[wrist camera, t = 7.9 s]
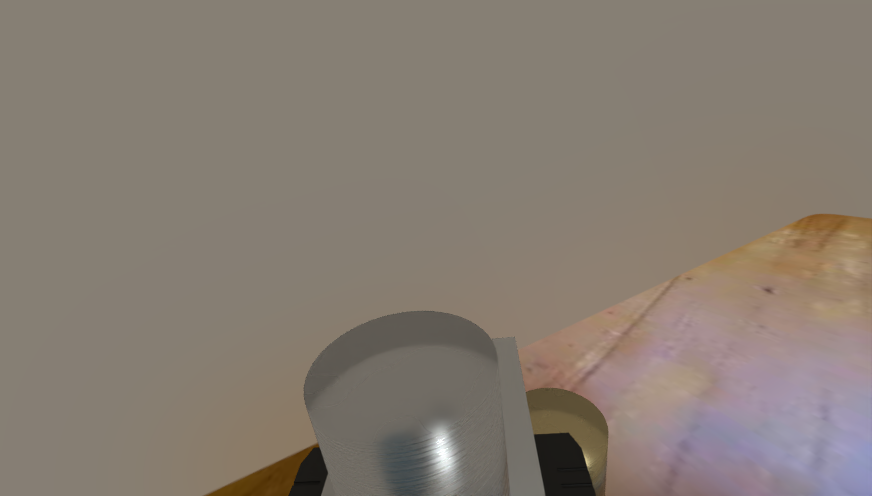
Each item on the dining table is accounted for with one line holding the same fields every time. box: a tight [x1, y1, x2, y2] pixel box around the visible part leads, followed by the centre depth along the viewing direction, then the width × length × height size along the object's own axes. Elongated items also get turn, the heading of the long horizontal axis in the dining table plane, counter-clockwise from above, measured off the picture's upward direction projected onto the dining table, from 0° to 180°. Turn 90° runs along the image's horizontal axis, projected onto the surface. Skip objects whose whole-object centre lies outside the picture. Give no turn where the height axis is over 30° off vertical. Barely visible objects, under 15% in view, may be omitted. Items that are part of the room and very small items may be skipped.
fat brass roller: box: [526, 388, 608, 496], centre depth 27 cm, size 6×6×9 cm
